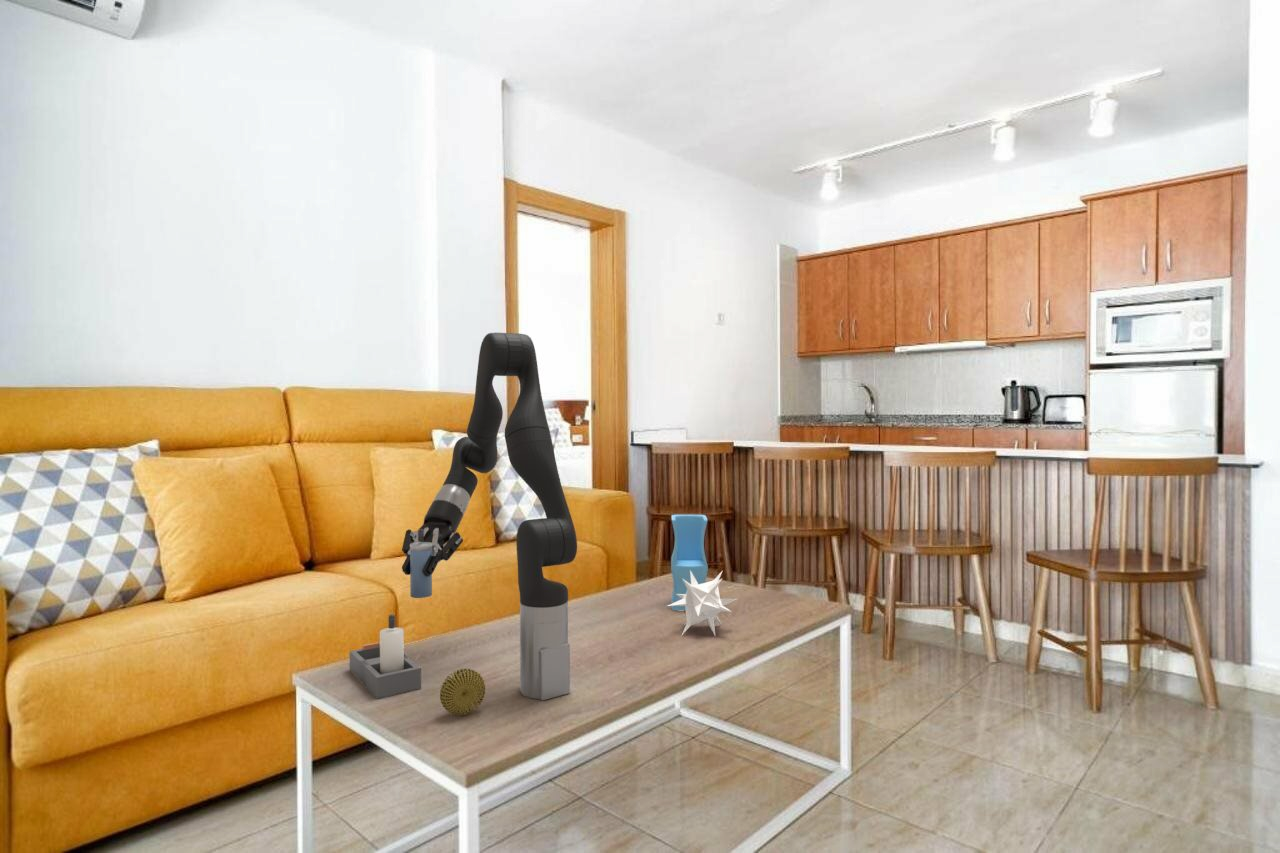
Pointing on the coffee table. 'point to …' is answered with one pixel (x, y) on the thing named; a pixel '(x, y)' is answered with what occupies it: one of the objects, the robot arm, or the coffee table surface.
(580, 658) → the coffee table surface
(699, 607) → the star ornament
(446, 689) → the sculpture
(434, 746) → the coffee table surface
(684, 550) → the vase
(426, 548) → the canister
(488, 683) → the coffee table surface
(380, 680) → the gray two-compartment caddy
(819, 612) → the coffee table surface
